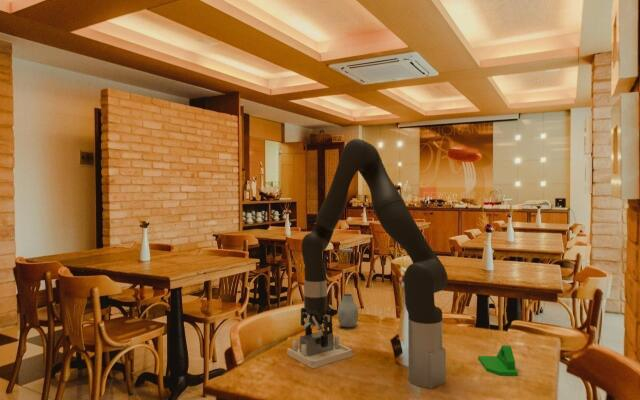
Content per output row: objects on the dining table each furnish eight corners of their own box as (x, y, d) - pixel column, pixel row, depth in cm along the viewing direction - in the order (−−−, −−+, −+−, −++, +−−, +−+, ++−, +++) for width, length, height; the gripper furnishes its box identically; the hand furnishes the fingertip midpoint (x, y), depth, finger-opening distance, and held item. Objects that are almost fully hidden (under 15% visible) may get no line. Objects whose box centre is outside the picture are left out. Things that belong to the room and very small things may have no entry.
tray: (353, 356, 143) (353, 340, 143) (312, 368, 134) (312, 352, 134) (326, 343, 155) (326, 329, 154) (287, 354, 145) (287, 339, 145)
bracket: (477, 360, 140) (477, 338, 139) (503, 360, 139) (503, 338, 139) (489, 376, 128) (489, 352, 127) (517, 377, 127) (517, 353, 127)
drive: (333, 349, 147) (333, 333, 146) (308, 356, 141) (308, 340, 141) (324, 345, 151) (324, 330, 150) (299, 351, 145) (299, 336, 145)
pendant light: (333, 325, 175) (332, 248, 174) (352, 322, 179) (351, 247, 178) (343, 331, 168) (342, 251, 167) (362, 328, 171) (361, 249, 170)
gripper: (338, 296, 142) (339, 346, 142) (312, 288, 153) (312, 335, 154) (319, 299, 137) (320, 352, 138) (293, 291, 149) (294, 339, 149)
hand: (316, 343), depth 146 cm, fingers open, 8 cm apart
